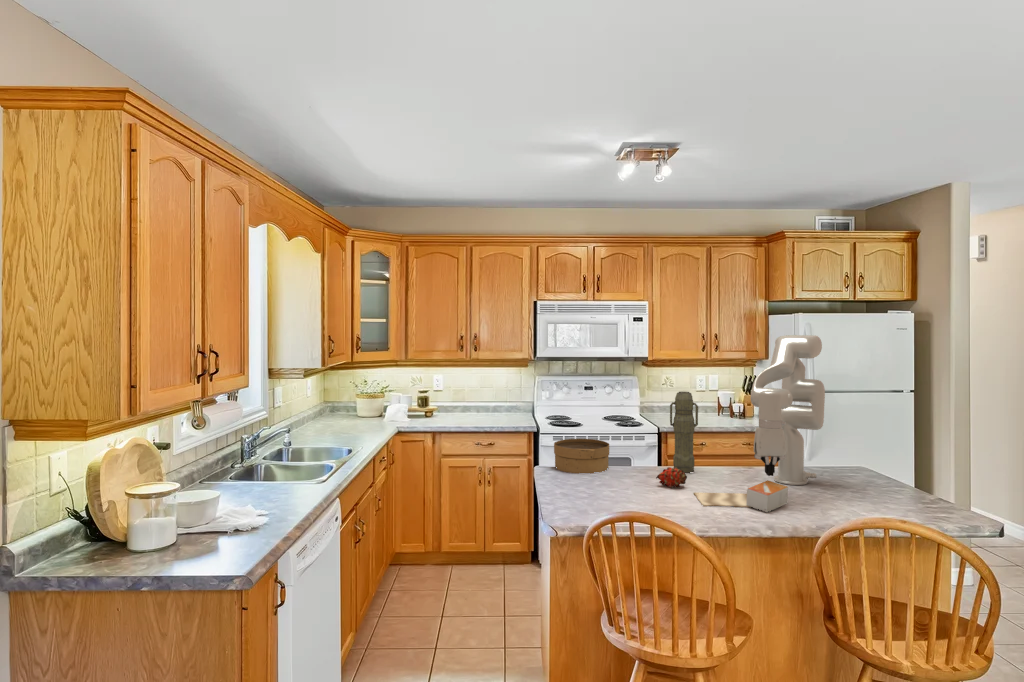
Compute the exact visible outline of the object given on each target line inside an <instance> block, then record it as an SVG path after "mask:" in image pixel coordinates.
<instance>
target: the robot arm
mask: <svg viewBox="0 0 1024 682" xmlns="http://www.w3.org/2000/svg"><path fill="white" fill-rule="evenodd" d="M822 349H823V343H822V340H821V337H819V335H814V334H813V335H812V334H811V335H809V334H808V335H807V334H806V335H801V334H799V335H797V334H795V335H794V334H792V335H785V334H784V335H780V336H778V337H776V339H775V341H774V348H773V353H772V357H771V362H770V364H769V366H768V367H766V368H765V369H763V370H762V371H761V372H760V373H759V374H758V375H756V377H755V378H754V380H753V384H752V388H751V392H750V402H751V405H753V406H754V407H756V408H758V426H757V427H756V428H755V432H754V439H753V453H754V456H753V457H754V459H755V460H756V459H757V460H760V461H762V463H764V473H765V474H766V475H767V476H768V477H770V476H771V477H773V480H774V482H775V483H778V484H782V485H790V486H803V485H808V483H809V481H808V479H817V473H815V472H807V471H805V470H804V466H805V462H804V461H805V459H804V457H805V456H804V455H805V440H804V437H803V435H802V434H801V432H800V431H799V430H800V429H801V430H809V431H810V430H812V431H818V430H821V429H822V428H823V426H824V421H825V420H824V418H825V401H826V400H825V399H826V395H825V394H826V389H825V385H824V383H823V382H822V381H821V380H819V379H814V378H813V379H812V378H809V379H808V378H806V365H805V364H804V362H803V361H802V360H801V359H810V360H811V359H814V358H816V357H819V355H820V354H821V352H822ZM780 380H781V388H774V387H766V386H767V385H768V384H771V383H774V382H776V381H780ZM793 402H795V403H809V404H811V405H806V404H805V405H803V404H793ZM769 457H770V458H769ZM776 465H778V467H777V473H778V474H777V475H775V476H774V474H776V473H775V469H776V468H775V466H776Z"/></svg>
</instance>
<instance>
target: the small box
mask: <svg viewBox="0 0 1024 682" xmlns="http://www.w3.org/2000/svg"><path fill="white" fill-rule="evenodd" d="M746 494H747V502H746V505H748V506H750V507H749V508H751V507H753V508H754V509H755V510H758V509H759V510H758V511H761V510H763V511H762V512H764V511H766V512H765V513H769V512H771V510H772V511H773V510H776V509H778V508H780V507H782V506H784V505H786V504H788V502H789V501H788V499H789V486H786V485H785V484H782V483H778V482H775V481H771V480H765V481H763V482H760V483H758V484H756V485H753V486H751V487H748V488H746ZM753 508H752V509H753ZM768 511H769V512H768Z"/></svg>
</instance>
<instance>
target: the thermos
mask: <svg viewBox="0 0 1024 682" xmlns="http://www.w3.org/2000/svg"><path fill="white" fill-rule="evenodd" d="M675 394H676V395H675V397H674V402H673V401H672V402H671V403H670V405H669V425H670V426H672V427H673V433H674V453H673V454H674V455H673V458H672V459H673V463H672V464H673V468H674V469H675V467H677V468H678V469H680V470H683V472H684V473H689V474H691V473H690V472H695V456H694V434H695V428H696V427H697V426H698V425H699V406H698V404H697V403H696V402H694V399H693V395H692V392H690V391H678V392H677V393H675ZM673 406H674V409H675V412H674V417H673ZM694 407H695V417H694V413H693V412H694Z"/></svg>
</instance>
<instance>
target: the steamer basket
mask: <svg viewBox="0 0 1024 682" xmlns="http://www.w3.org/2000/svg"><path fill="white" fill-rule="evenodd" d="M553 453H554V468H555V467H557V469H556V470H558V471H560V472H564V473H569V474H579V473H590V474H595V473H594V472H599V473H603V472H602V471H604V472H606V471H608V470H607V468H608V469H609V456H610V443H609V442H607V441H604V440H600V439H592V438H591V439H590V438H568V439H560V440H557V441H555V442H554V443H553ZM605 470H606V471H605Z"/></svg>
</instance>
